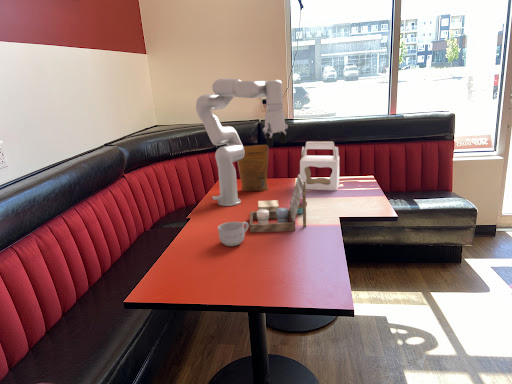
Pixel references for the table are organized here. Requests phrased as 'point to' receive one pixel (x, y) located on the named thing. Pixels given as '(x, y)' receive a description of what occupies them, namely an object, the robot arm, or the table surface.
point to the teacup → (232, 233)
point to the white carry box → (320, 166)
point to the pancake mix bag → (254, 168)
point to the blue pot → (282, 215)
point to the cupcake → (300, 207)
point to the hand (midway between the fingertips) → (276, 144)
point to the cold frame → (292, 212)
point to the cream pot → (262, 216)
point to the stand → (268, 205)
